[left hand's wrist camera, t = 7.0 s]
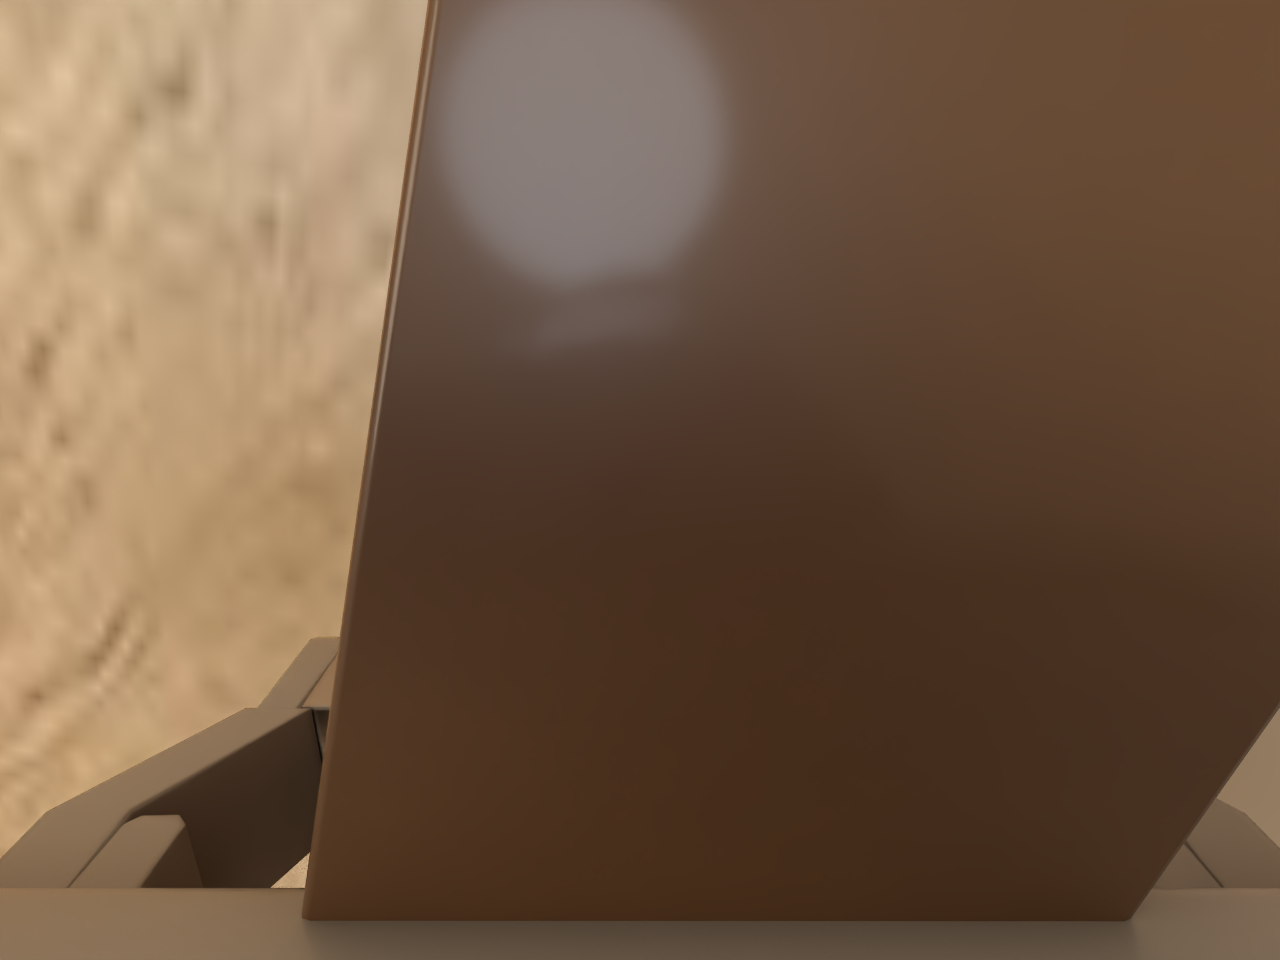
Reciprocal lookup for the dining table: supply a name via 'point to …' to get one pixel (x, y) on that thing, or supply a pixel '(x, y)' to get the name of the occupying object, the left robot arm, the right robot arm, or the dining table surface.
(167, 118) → the dining table surface
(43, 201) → the dining table surface
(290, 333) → the dining table surface
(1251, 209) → the bar
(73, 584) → the dining table surface
